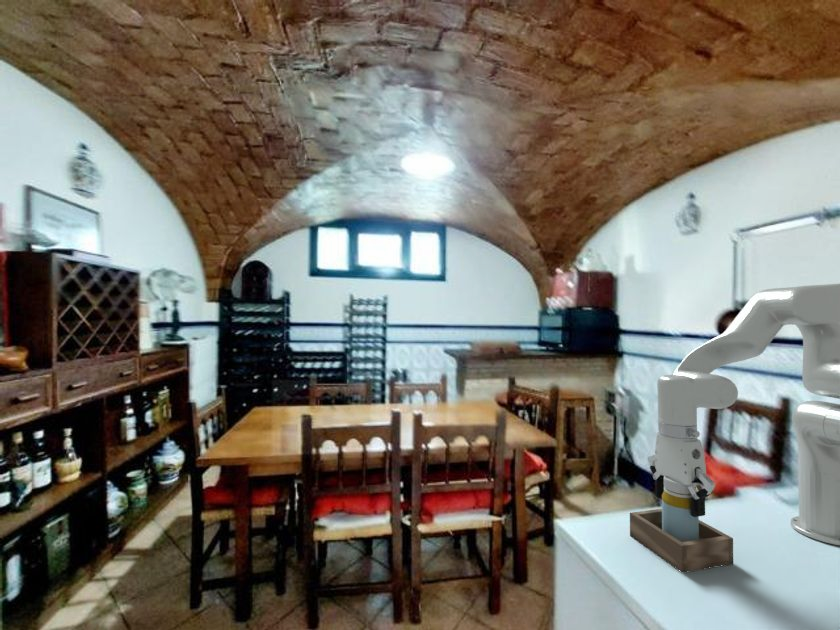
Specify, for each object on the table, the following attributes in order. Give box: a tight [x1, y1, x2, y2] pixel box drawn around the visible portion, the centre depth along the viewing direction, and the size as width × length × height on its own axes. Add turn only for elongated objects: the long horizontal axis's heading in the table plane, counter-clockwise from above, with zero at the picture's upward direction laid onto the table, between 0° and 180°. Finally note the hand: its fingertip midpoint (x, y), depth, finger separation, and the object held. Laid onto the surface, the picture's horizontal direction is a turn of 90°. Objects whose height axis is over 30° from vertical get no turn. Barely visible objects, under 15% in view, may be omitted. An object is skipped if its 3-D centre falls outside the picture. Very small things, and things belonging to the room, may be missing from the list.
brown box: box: [629, 508, 734, 573], centre depth 94 cm, size 13×15×6 cm
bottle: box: [661, 476, 700, 542], centre depth 94 cm, size 7×7×15 cm
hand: (679, 505), depth 94 cm, fingers open, 9 cm apart
